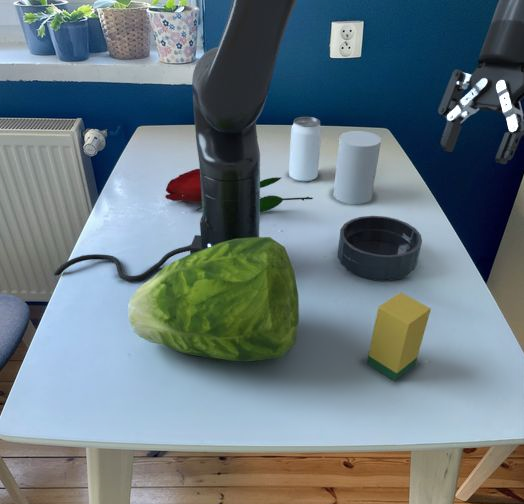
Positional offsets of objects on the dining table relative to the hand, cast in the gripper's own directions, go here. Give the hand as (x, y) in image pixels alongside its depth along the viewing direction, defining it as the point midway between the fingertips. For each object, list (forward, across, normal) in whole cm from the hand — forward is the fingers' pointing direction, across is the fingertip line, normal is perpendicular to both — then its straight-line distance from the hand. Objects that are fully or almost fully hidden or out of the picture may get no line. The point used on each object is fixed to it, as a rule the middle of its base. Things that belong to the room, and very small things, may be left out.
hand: (472, 156), depth 75 cm
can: (+10, -48, +17) cm, 52 cm away
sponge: (+29, +5, -10) cm, 31 cm away
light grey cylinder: (+11, -34, +19) cm, 41 cm away
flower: (+19, -44, -3) cm, 48 cm away
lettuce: (+34, -13, -26) cm, 45 cm away
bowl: (+19, -14, +6) cm, 25 cm away
